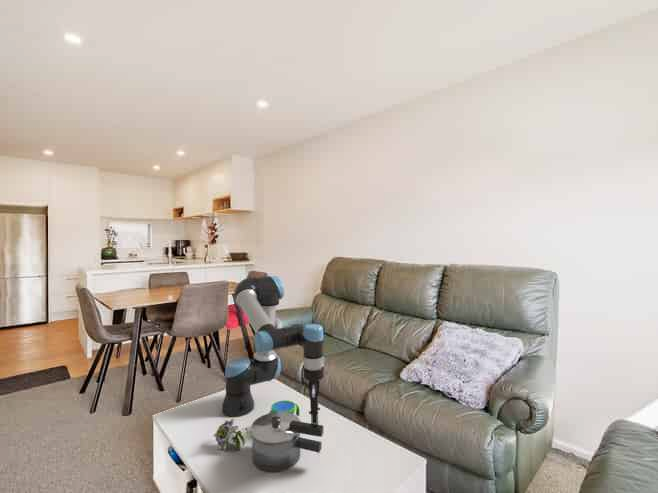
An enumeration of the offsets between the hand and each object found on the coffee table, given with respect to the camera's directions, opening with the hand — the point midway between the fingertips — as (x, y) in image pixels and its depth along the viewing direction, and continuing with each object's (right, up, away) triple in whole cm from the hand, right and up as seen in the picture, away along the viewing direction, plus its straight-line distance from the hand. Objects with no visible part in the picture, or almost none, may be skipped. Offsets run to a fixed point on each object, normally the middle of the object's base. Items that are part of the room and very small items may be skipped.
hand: (314, 429), depth 125 cm
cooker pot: (-10, -12, +1) cm, 16 cm away
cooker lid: (-10, -1, +1) cm, 11 cm away
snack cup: (-14, -11, +20) cm, 27 cm away
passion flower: (-34, -12, +10) cm, 38 cm away
